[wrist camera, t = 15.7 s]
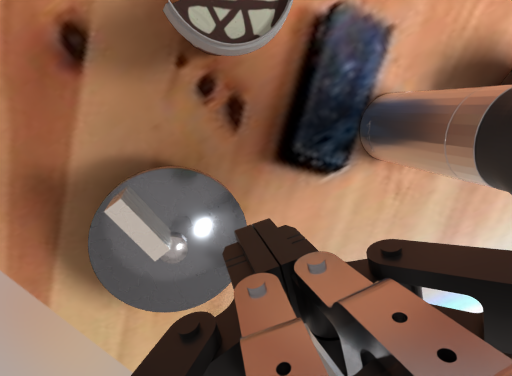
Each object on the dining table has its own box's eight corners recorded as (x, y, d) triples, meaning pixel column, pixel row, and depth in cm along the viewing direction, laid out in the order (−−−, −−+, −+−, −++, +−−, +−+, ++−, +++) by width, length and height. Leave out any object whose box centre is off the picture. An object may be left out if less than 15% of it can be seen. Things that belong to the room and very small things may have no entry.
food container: (193, 85, 36) (201, 77, 26) (164, 32, 34) (162, 2, 24) (284, 38, 37) (323, 14, 28) (262, -17, 35) (295, -62, 26)
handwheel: (271, 242, 39) (289, 268, 33) (163, 329, 38) (162, 372, 32) (183, 134, 33) (186, 140, 27) (54, 233, 33) (26, 263, 26)
